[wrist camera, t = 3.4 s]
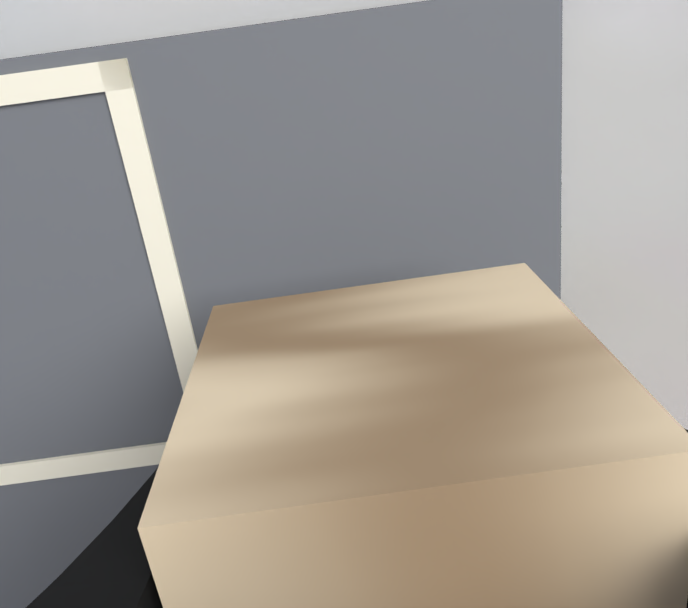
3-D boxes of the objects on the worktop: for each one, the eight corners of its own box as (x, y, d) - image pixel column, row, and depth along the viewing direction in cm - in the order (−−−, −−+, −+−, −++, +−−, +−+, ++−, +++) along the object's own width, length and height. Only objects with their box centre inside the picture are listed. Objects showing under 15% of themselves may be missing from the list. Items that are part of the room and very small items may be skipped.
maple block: (267, 547, 12) (243, 859, 8) (213, 305, 10) (137, 528, 6) (529, 510, 12) (665, 799, 8) (524, 262, 10) (704, 449, 6)
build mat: (-76, 790, 19) (-86, 808, 19) (-484, 126, 12) (-516, 130, 11) (552, 705, 19) (559, 722, 19) (554, -17, 12) (564, -18, 11)
